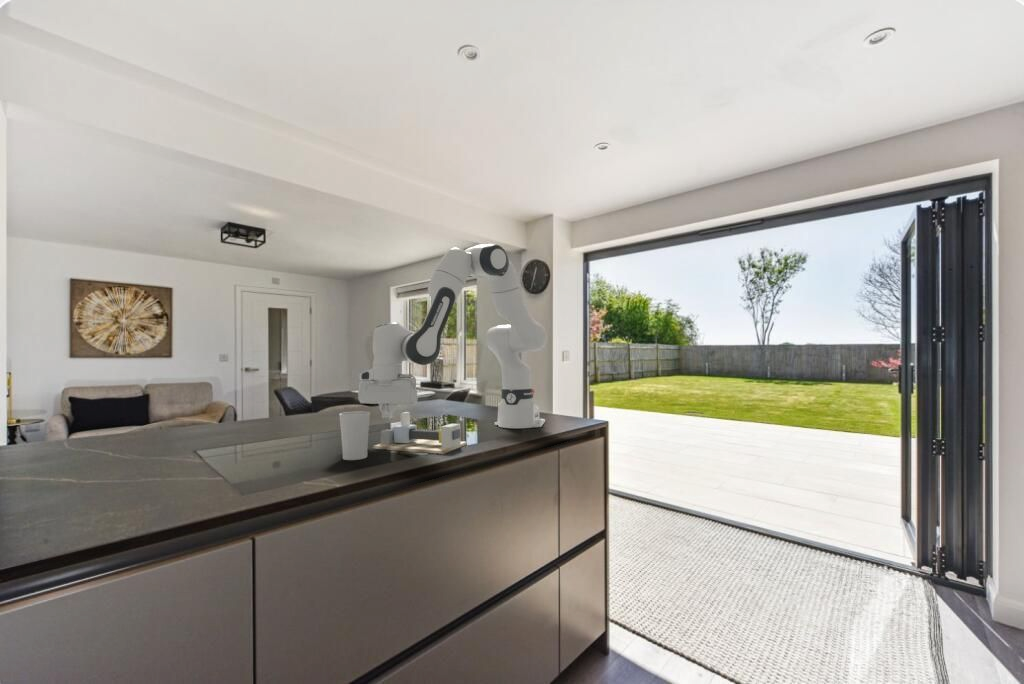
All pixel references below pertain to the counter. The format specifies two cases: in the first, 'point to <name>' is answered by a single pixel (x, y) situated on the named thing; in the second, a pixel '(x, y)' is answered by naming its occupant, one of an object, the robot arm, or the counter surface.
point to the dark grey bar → (424, 434)
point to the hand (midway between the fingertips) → (387, 418)
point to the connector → (450, 435)
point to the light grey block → (387, 437)
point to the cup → (354, 434)
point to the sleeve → (404, 429)
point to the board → (419, 446)
